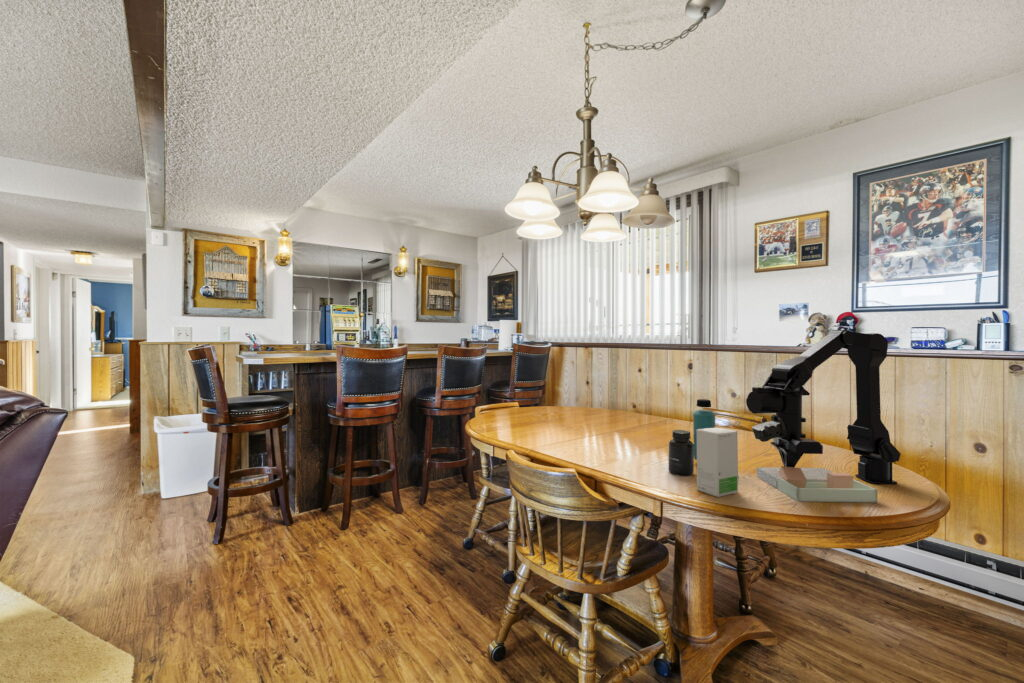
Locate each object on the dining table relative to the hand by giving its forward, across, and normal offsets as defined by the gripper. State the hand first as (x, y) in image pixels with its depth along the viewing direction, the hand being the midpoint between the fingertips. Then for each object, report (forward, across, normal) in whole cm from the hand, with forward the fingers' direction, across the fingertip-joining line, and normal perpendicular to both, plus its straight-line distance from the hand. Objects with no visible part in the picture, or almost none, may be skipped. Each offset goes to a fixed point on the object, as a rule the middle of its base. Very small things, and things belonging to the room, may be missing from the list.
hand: (788, 472), depth 113 cm
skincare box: (+4, +4, -20) cm, 21 cm away
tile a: (+1, +4, +10) cm, 10 cm away
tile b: (+2, +2, 0) cm, 3 cm away
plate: (+4, -3, +5) cm, 7 cm away
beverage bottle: (+4, -20, -14) cm, 24 cm away
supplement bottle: (+4, -10, -24) cm, 27 cm away
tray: (+4, +6, +5) cm, 9 cm away
